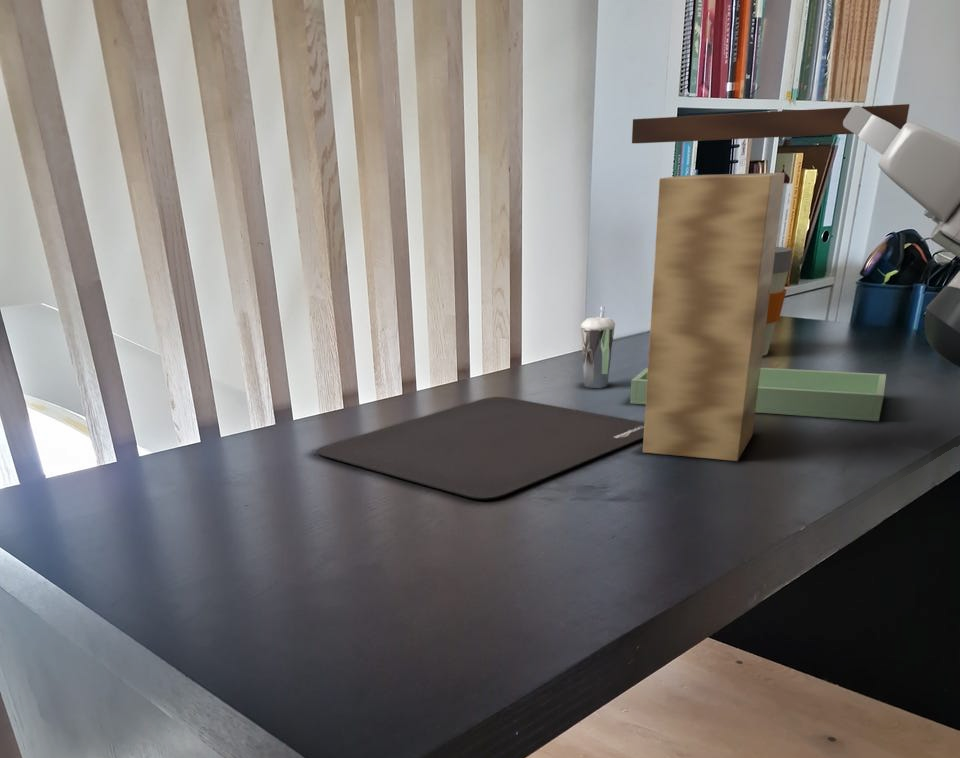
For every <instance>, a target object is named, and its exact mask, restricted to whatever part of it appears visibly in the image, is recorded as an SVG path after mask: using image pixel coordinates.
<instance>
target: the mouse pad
mask: <svg viewBox="0 0 960 758" xmlns="http://www.w3.org/2000/svg"><path fill="white" fill-rule="evenodd" d="M644 423H645V421H638V420H633V419H627V418H622V417H617V416H611V415H606V414H601V413H600V414H599V413H593V412H589V411H584V410H578V409H572V408H566V407H561V406H556V405H555V406H554V405H550V404H546V403H545V404H544V403H539V402H533V401H528V400H522V399H517V398H510V397H506V396H505V397H504V396H494V397H493V396H492V397H487V398H483V399H479V400H476V401H472V402H469V403H465V404H462V405H458V406H456V407H452V408H449V409H444V410H442V411H439V412H435V413H432V414H428V415H425V416H421V417H418V418H414V419H412V420H408V421H404V422H400V423H398V424H394V425H392V426H387V427H384V428H380V429H377V430H374V431H370V432H368V433H364V434H361V435H357V436H354V437H351V438H347V439H343V440H340V441H337V442H333V443H330V444H327V445H324V446H322V447H319V448H318V449H317V450H316V454H318V455H319V456H322V457H324V458H328V459H331V460H335V461H338V462H342V463H346V464H349V465H353V466H356V467H359V468H363V469H367V470H370V471H373V472H377V473H380V474H385V475H388V476H391V477H394V478H399V479H402V480H405V481H409V482H413V483H417V484H419V485H422V486H427V487H430V488H435V489H437V490H441V491H444V492H448V493H451V494H455V495H459V496H463V497H466V498H468V499H469V498H470V499H475V500H493V499H499V498H502V497H505V496H507V495H510V494H512V493H514V492H517V491H519V490H522V489H524V488H526V487H529V486H532V485H535V484H536V483H540V482H541V481H544V480H546V479H550V478H552V477H553V476H556V475H558V474H561V473H563V472H566V471H568V470H571V469H573V468H576V467H579V466H580V465H582V464H585V463H587V462H590V461H592V460H595V459H597V458H600V457H602V456H606V455H607V454H609V453H613V452H614V451H617V450H619V449H622V448H623V447H627V446H628V445H631V444H633V443H637V442H638V441H641V440H643V439H644Z"/></svg>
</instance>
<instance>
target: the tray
mask: <svg viewBox="0 0 960 758" xmlns="http://www.w3.org/2000/svg"><path fill="white" fill-rule="evenodd" d="M647 374H648V366H647V367H645V368H644V369H643V370H642V371H641V372H640V373H638V374H637V375H636V376H635V377H634V378H632V379H631V383H630V401H629V402H630V404H631V405H643V406H646V390H647ZM886 382H887V374H886V373H870V372H850V371H834V370H816V369H815V370H813V369H796V368H795V369H794V368H777V367H776V368H775V367H761V369H760V377H759V385H758V393H757V401H756V409H755V414H756V413H758V414H769V415H771V414H773V415H783V416H784V415H785V416H799V417H813V418H826V419H827V418H829V419H840V420H841V419H842V420H855V421H867V422H868V421H869V422H879V421H880V417H881V411H882V406H883V403H884V402H883V401H884V397H885V390H886Z"/></svg>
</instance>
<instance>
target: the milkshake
mask: <svg viewBox="0 0 960 758" xmlns="http://www.w3.org/2000/svg"><path fill="white" fill-rule="evenodd" d="M604 316H605V306H600V316H596V317H588V318H585V320H583V322H581V323H580V331H581V333H580V334H581V344H582V347H581V349H582V369H583V372H582V373H583V386H584V387H586V388H588V389H603V388H607V387H608V386H609V377H610V368H611V361H612V360H611V359H612V358H611V357H612V351H613V350H612V349H613V342H614V334H615V328H616V323H615V321H614V320H613V319H612V318H611V317H604Z"/></svg>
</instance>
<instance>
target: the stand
mask: <svg viewBox="0 0 960 758" xmlns="http://www.w3.org/2000/svg"><path fill="white" fill-rule="evenodd" d="M785 176H786V173H785V172H759V173H757V172H756V173H755V172H754V173H725V174H724V173H721V174H692V175H691V174H689V175H688V174H687V175H677V176H676V175H675V176H669V177H667V176H666V177H660V178H659V182H658V198H657V199H658V200H657V213H656V214H657V216H656V228H655V229H656V231H655V249H654V261H653V262H654V263H653V278H652V279H653V280H652V295H651V299H652V300H651V311H650V313H651V314H650V327H649V328H650V329H649V345H648V358H647V360H648V361H647V367H648V374H647V390H646V405H645V407H644V408H645V410H644V438H643V439H642V441H643V443H642V453H645V454H653V455H665V456H676V457H686V458H687V457H688V458H697V459H698V458H699V459H708V460H720V461H728V462H729V461H731V462H738V461H739V459H740V458H741V456H742V455H743V452H744V450H745V449H746V447H747V445H748V444H749V443H750V440H751V438H752V436H753V432H754V425H755V418H756V417H755V416H756V413H755V409H756V401H757V393H758V385H759V377H760V369H761V368H762V360H763V356H762V353H763V345H764V337H765V329H766V321H767V313H768V305H769V297H770V289H771V281H772V273H773V265H774V257H775V248H776V247H777V240H778V232H779V224H780V216H781V207H782V200H783V191H784V185H785V184H784V182H785Z"/></svg>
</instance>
